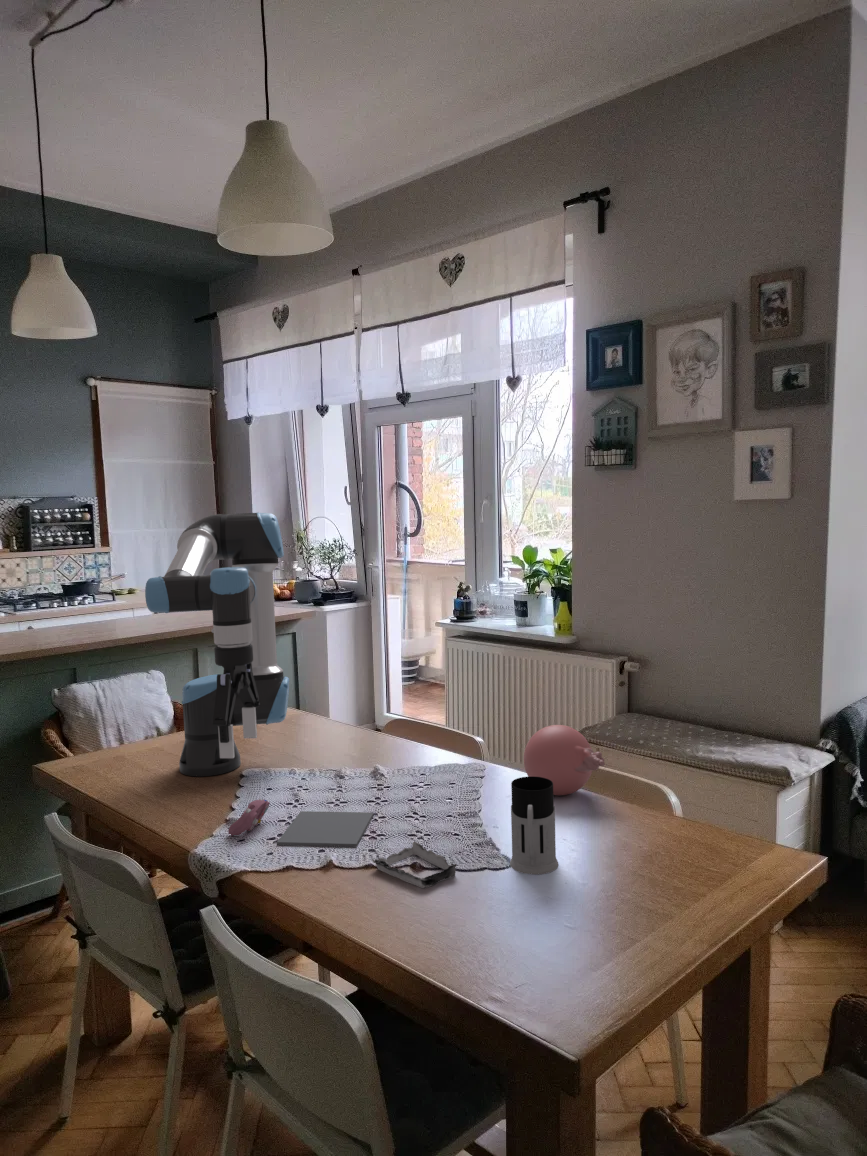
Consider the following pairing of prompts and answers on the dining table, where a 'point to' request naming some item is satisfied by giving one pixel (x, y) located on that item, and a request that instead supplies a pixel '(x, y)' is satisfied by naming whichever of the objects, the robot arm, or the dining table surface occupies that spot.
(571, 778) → the balloon
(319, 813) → the charcoal mat
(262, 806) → the video game controller
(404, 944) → the dining table surface
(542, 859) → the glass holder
